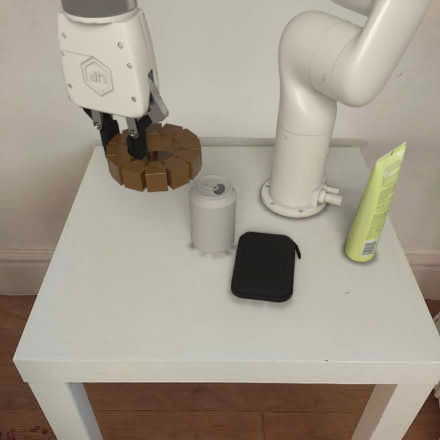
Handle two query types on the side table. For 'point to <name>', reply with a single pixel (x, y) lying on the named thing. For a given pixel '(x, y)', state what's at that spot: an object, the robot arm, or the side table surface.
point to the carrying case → (264, 267)
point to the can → (212, 213)
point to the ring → (157, 170)
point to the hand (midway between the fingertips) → (126, 155)
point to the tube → (374, 206)
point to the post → (156, 153)
